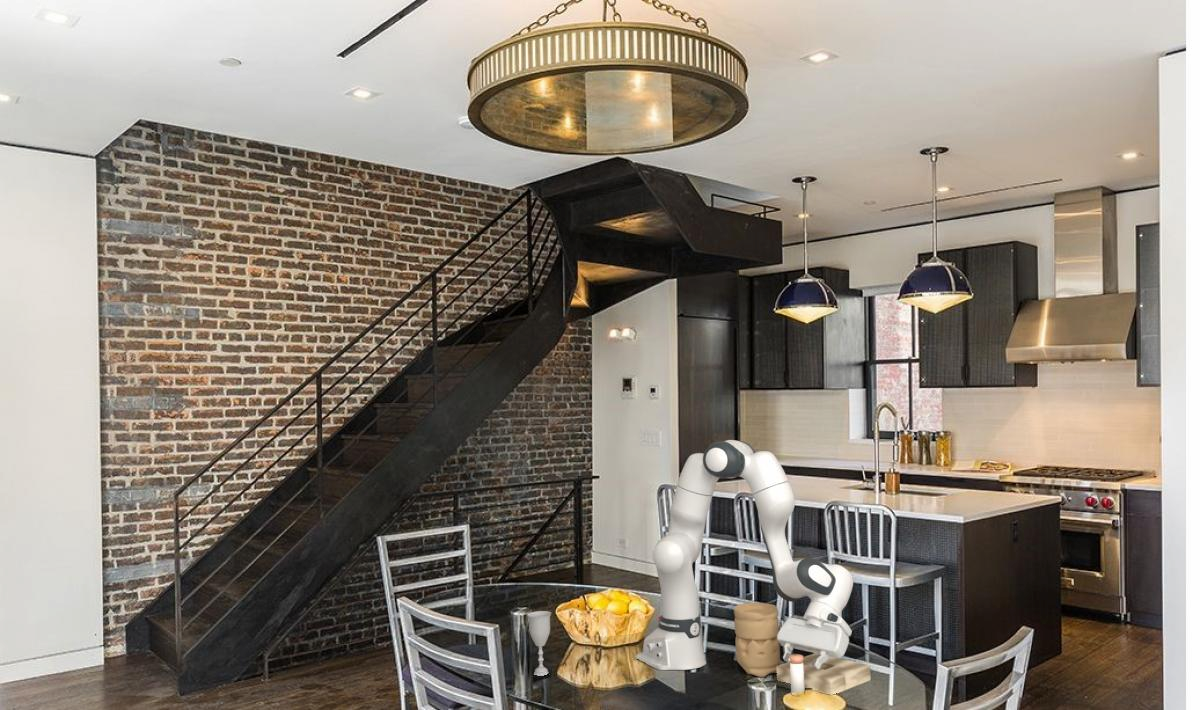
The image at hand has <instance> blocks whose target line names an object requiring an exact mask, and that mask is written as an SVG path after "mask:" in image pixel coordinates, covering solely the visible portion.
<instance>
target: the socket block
mask: <svg viewBox="0 0 1200 710" xmlns="http://www.w3.org/2000/svg"><path fill="white" fill-rule="evenodd" d="M820 656H821V654H817V653H812V654H809V655H806V656H803V668H804V689H805V688H812V689H816V690H820V691H823V692H826V693H829V694H835V695H837V694H839V693H842V692H844V691H847V690H850V689H851V688H855V687H856V686H859V685H862V684H864V683H868V682H871V677H872V676H871V665H870V664H866V663H861V662H857V661H852V660H847V659H843V658H835V657H830V656H829V658H828V660H827V661H825V662H824V663H823V664H821V666H820V669H816V668H813V666H812V663H813V660H814V659H815V660H817V659H818V658H819V657H820ZM776 668H777V674H776V681H777V680H778V681H777V682H779V681H781V682H780V683H782V682H786V683H790V684H791V678H790V662H786V663H782V664H780V665H779V666H776ZM786 683H785V684H786ZM790 684H789V685H790ZM836 693H837V694H836Z"/></svg>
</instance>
